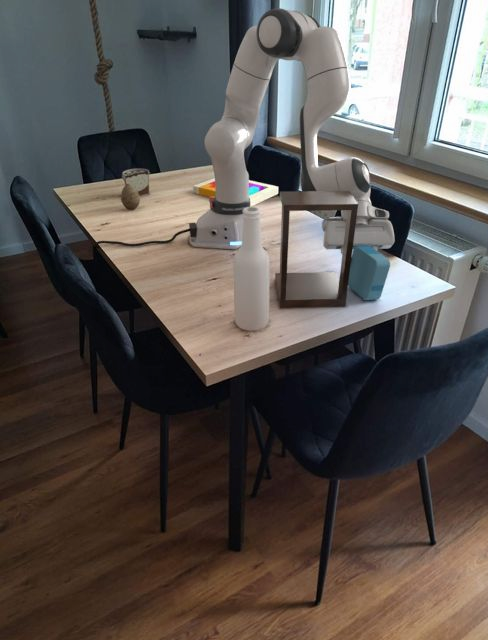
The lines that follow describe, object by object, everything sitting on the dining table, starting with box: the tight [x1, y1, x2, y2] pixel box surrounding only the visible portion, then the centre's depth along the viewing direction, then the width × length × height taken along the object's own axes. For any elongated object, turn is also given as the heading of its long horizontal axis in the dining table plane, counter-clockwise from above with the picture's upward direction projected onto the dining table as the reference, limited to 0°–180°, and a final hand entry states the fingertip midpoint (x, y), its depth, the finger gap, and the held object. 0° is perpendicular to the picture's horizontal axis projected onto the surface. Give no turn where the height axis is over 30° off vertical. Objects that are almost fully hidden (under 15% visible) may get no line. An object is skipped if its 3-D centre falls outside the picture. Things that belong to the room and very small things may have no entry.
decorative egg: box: [120, 184, 141, 211], centre depth 190 cm, size 7×7×10 cm
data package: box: [348, 246, 391, 301], centre depth 136 cm, size 12×4×12 cm, turn 22°
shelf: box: [274, 190, 358, 309], centre depth 130 cm, size 18×16×28 cm
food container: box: [121, 168, 151, 198], centre depth 204 cm, size 12×6×10 cm, turn 133°
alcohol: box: [232, 206, 271, 332], centre depth 117 cm, size 9×9×30 cm
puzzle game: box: [192, 177, 279, 207], centre depth 206 cm, size 30×3×30 cm
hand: (360, 262), depth 138 cm, fingers closed on data package, 5 cm apart
